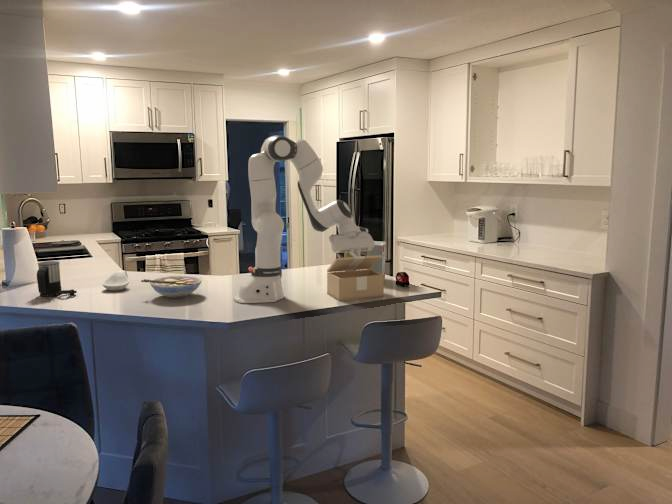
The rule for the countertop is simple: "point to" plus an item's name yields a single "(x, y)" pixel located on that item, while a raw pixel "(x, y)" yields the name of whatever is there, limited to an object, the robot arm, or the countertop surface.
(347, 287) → the cardboard box
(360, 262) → the lid
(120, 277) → the spoon rest
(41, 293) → the milk frother
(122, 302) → the countertop surface
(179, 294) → the ramen bowl
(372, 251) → the hard drive box
